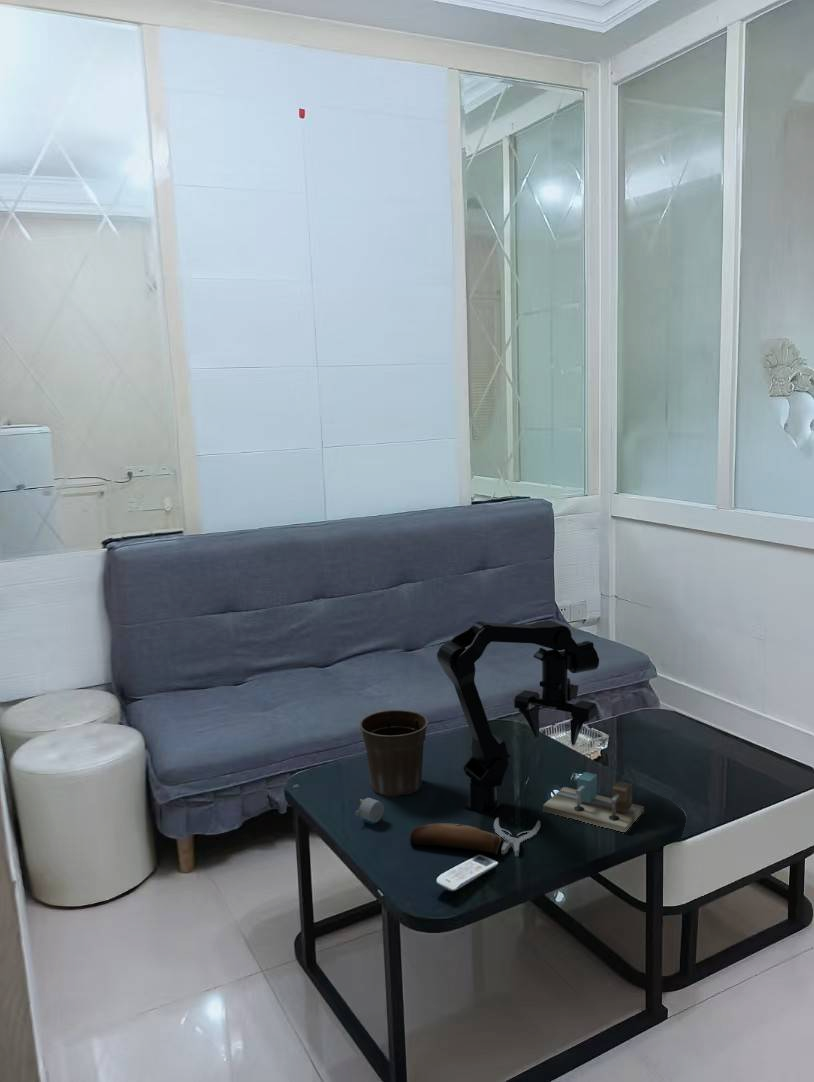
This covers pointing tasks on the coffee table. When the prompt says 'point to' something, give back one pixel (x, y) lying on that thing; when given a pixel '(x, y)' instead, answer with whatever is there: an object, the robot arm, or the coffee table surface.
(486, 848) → the sunglasses case
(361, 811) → the electric motor
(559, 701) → the robot arm
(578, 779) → the teal block
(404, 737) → the plant pot
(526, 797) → the coffee table surface
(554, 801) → the beige board with blocks
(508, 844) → the pliers
